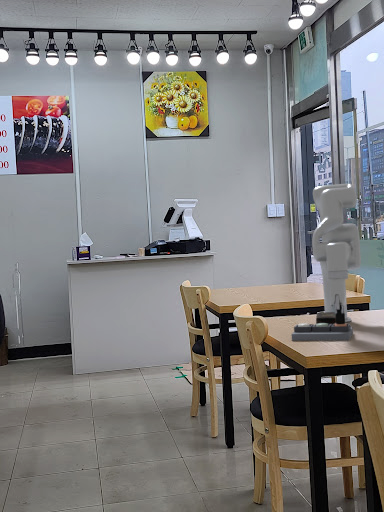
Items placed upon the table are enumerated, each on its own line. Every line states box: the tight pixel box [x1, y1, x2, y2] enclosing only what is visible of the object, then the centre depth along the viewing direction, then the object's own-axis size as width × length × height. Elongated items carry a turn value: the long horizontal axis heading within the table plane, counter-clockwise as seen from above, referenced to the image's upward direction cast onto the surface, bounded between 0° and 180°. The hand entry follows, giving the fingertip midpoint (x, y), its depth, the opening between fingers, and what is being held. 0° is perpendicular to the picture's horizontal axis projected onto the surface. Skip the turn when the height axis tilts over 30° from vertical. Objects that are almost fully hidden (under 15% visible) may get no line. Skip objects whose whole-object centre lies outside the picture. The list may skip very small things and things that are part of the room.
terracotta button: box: [335, 322, 348, 326], centre depth 239 cm, size 4×4×2 cm
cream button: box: [298, 322, 310, 327], centre depth 244 cm, size 4×4×2 cm
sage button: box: [315, 323, 328, 327], centre depth 241 cm, size 4×4×2 cm
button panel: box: [291, 323, 354, 342], centre depth 241 cm, size 14×21×4 cm, turn 70°
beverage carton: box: [315, 310, 336, 325], centre depth 259 cm, size 8×19×7 cm, turn 168°
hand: (340, 323), depth 239 cm, fingers closed
